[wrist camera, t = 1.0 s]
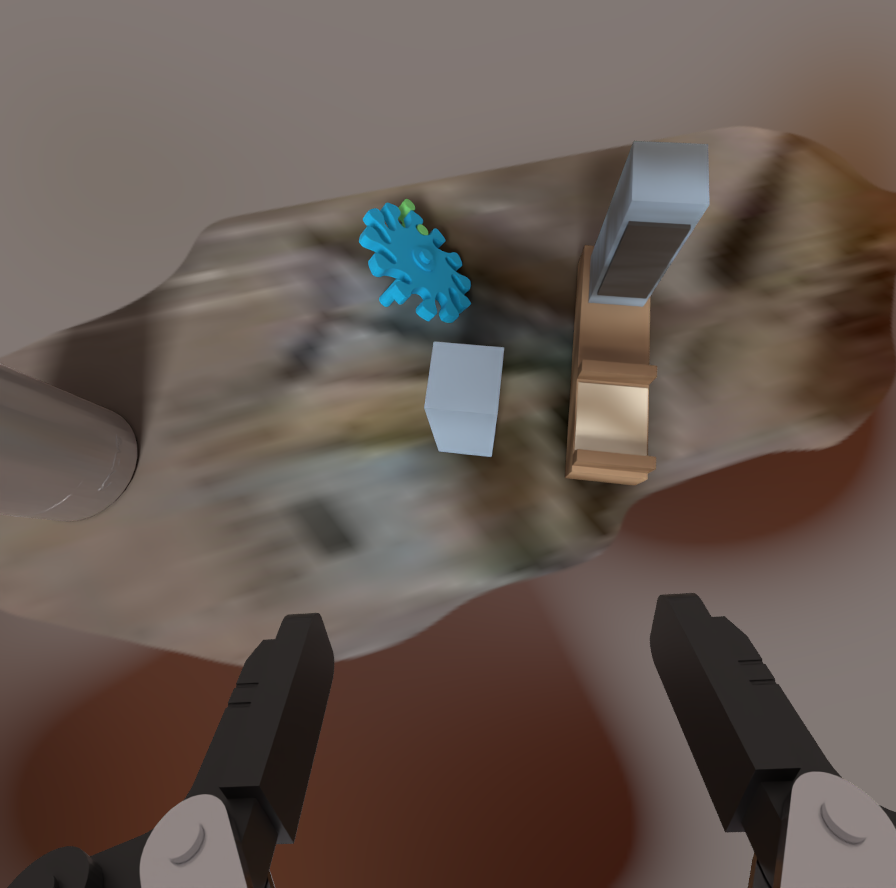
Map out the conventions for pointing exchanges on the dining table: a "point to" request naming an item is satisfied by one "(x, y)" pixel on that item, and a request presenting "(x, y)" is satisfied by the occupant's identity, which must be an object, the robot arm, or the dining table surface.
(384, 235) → the gear
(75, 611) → the dining table surface
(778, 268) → the dining table surface
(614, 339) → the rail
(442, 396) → the light grey block
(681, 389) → the dining table surface
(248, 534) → the dining table surface
